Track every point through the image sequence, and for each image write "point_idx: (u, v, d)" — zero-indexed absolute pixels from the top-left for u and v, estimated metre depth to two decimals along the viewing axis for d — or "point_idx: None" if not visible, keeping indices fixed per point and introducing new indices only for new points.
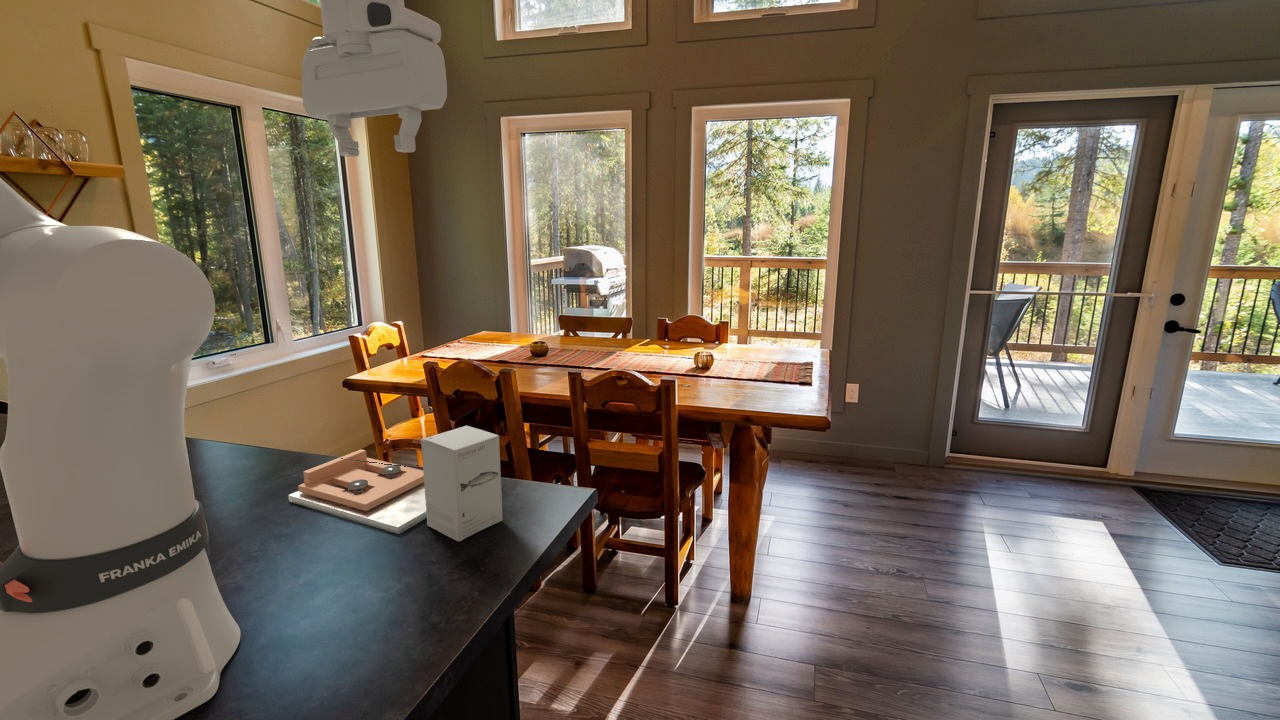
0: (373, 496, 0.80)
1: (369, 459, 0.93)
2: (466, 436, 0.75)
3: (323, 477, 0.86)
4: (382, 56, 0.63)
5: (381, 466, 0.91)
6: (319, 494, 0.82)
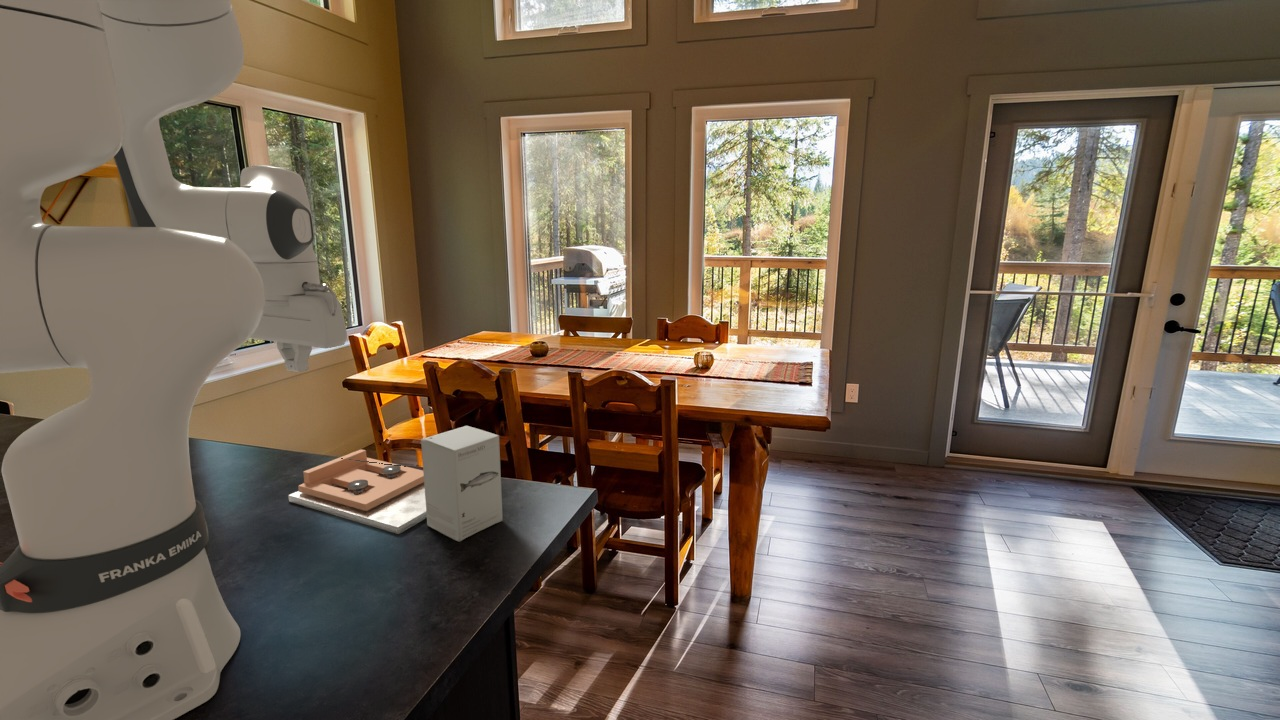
0: (373, 496, 0.80)
1: (369, 459, 0.93)
2: (466, 436, 0.75)
3: (323, 477, 0.86)
4: None
5: (381, 466, 0.91)
6: (319, 494, 0.82)
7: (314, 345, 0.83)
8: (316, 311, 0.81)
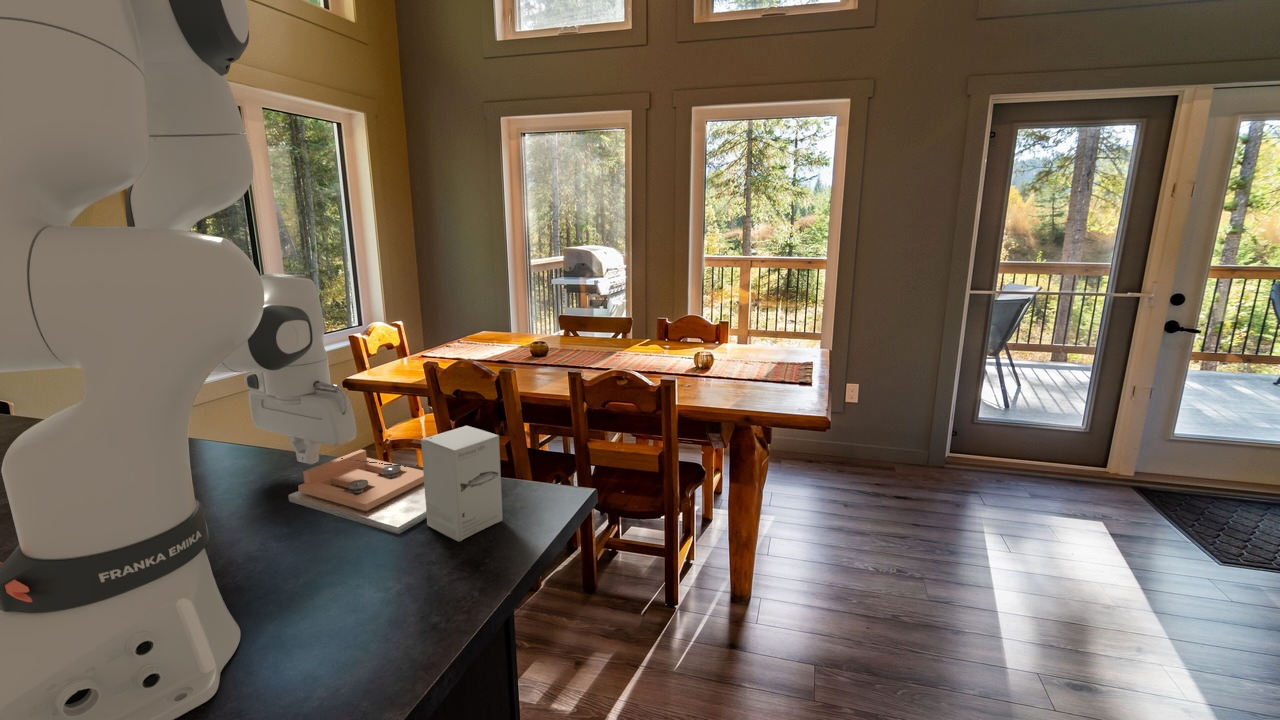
0: (373, 496, 0.80)
1: (369, 459, 0.93)
2: (466, 436, 0.75)
3: (323, 477, 0.86)
4: None
5: (381, 466, 0.91)
6: (319, 494, 0.82)
7: (325, 442, 0.86)
8: (327, 412, 0.84)
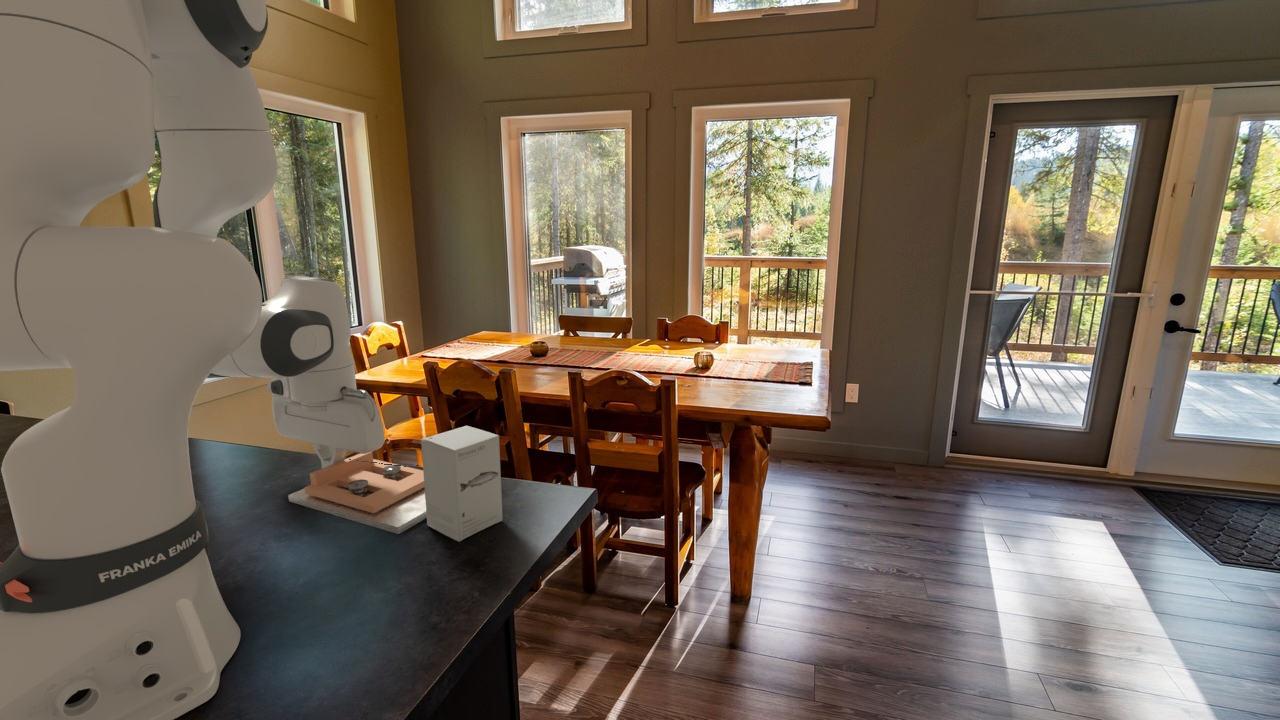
0: (380, 498, 0.80)
1: (375, 460, 0.93)
2: (466, 436, 0.75)
3: (330, 479, 0.85)
4: None
5: None
6: (326, 496, 0.81)
7: (353, 450, 0.83)
8: (356, 419, 0.82)
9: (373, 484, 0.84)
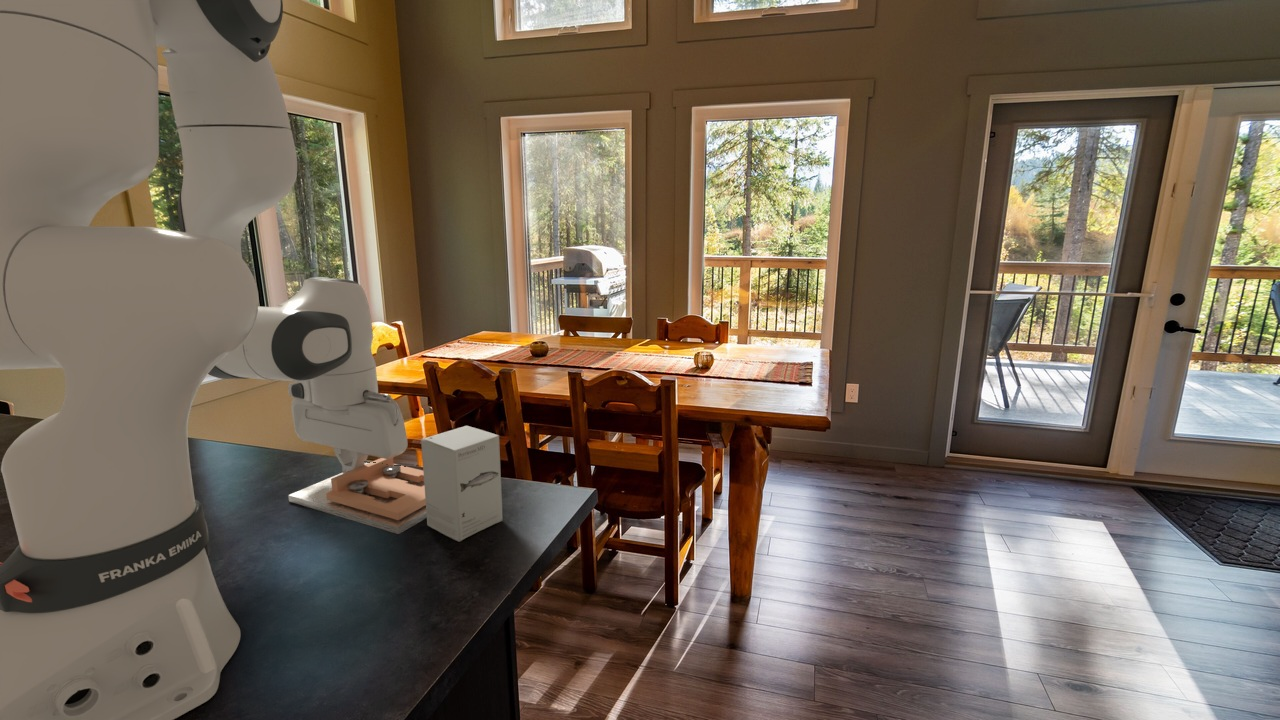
0: (404, 504, 0.78)
1: None
2: (466, 436, 0.75)
3: None
4: None
5: (409, 473, 0.88)
6: (349, 502, 0.79)
7: (375, 455, 0.81)
8: (379, 423, 0.80)
9: (396, 490, 0.82)
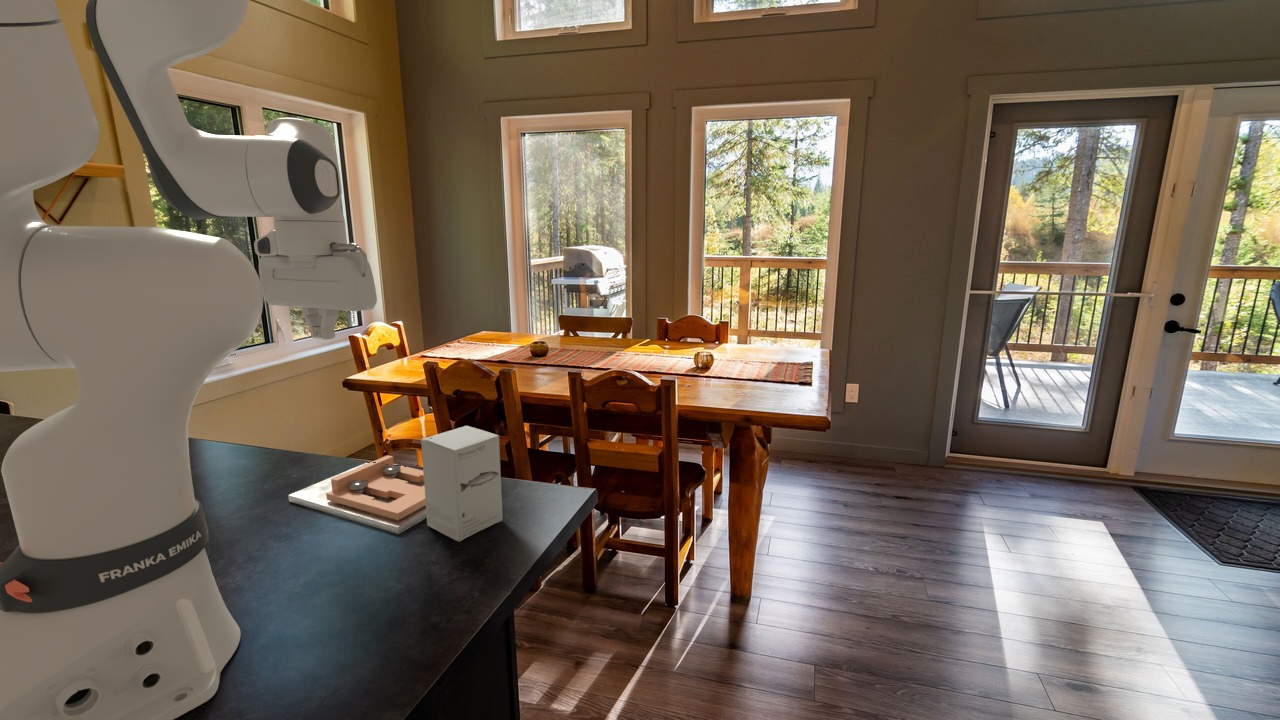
0: (404, 504, 0.78)
1: None
2: (466, 436, 0.75)
3: None
4: None
5: (409, 473, 0.88)
6: (349, 502, 0.79)
7: (343, 308, 0.79)
8: (346, 271, 0.77)
9: (396, 490, 0.82)
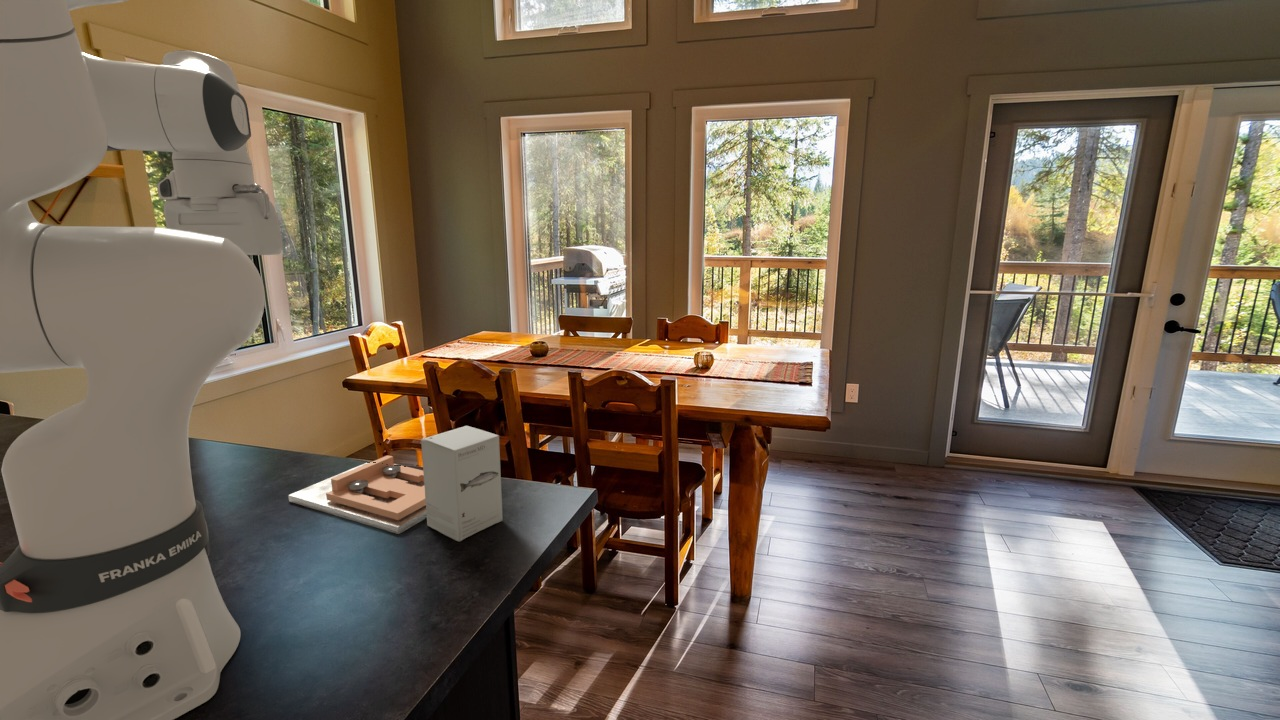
0: (404, 504, 0.78)
1: None
2: (466, 436, 0.75)
3: None
4: None
5: (409, 473, 0.88)
6: (349, 502, 0.79)
7: (245, 252, 0.76)
8: (246, 213, 0.74)
9: (396, 490, 0.82)
